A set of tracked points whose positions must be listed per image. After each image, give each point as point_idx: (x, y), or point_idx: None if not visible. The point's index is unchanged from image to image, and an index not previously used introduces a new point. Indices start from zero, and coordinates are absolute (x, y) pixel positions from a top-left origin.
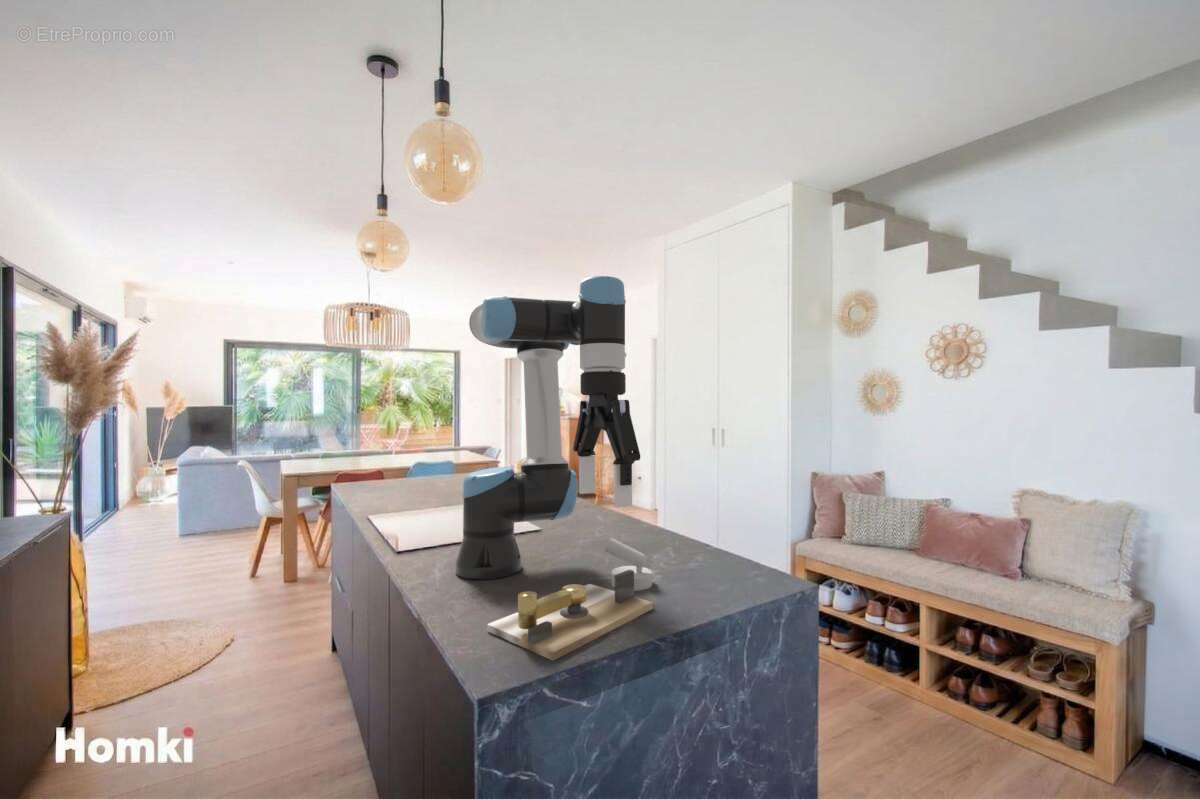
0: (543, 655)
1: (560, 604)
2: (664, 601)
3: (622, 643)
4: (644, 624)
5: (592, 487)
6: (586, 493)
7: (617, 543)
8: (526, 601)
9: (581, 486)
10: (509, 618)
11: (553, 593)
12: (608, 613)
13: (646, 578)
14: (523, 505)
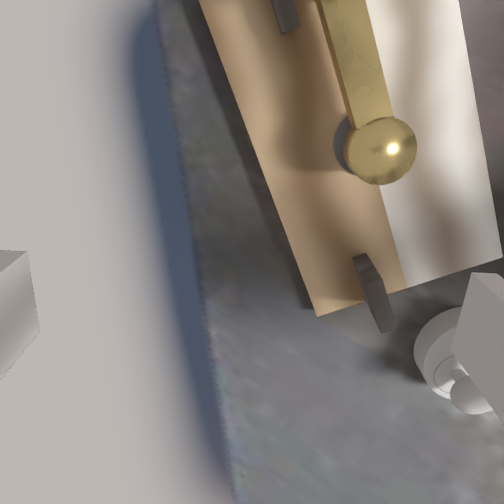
0: None
1: (341, 87)
2: (334, 347)
3: (205, 174)
4: (260, 256)
5: (468, 356)
6: (463, 304)
7: None
8: None
9: (494, 297)
10: None
11: (383, 83)
12: (318, 209)
13: (422, 369)
14: None
